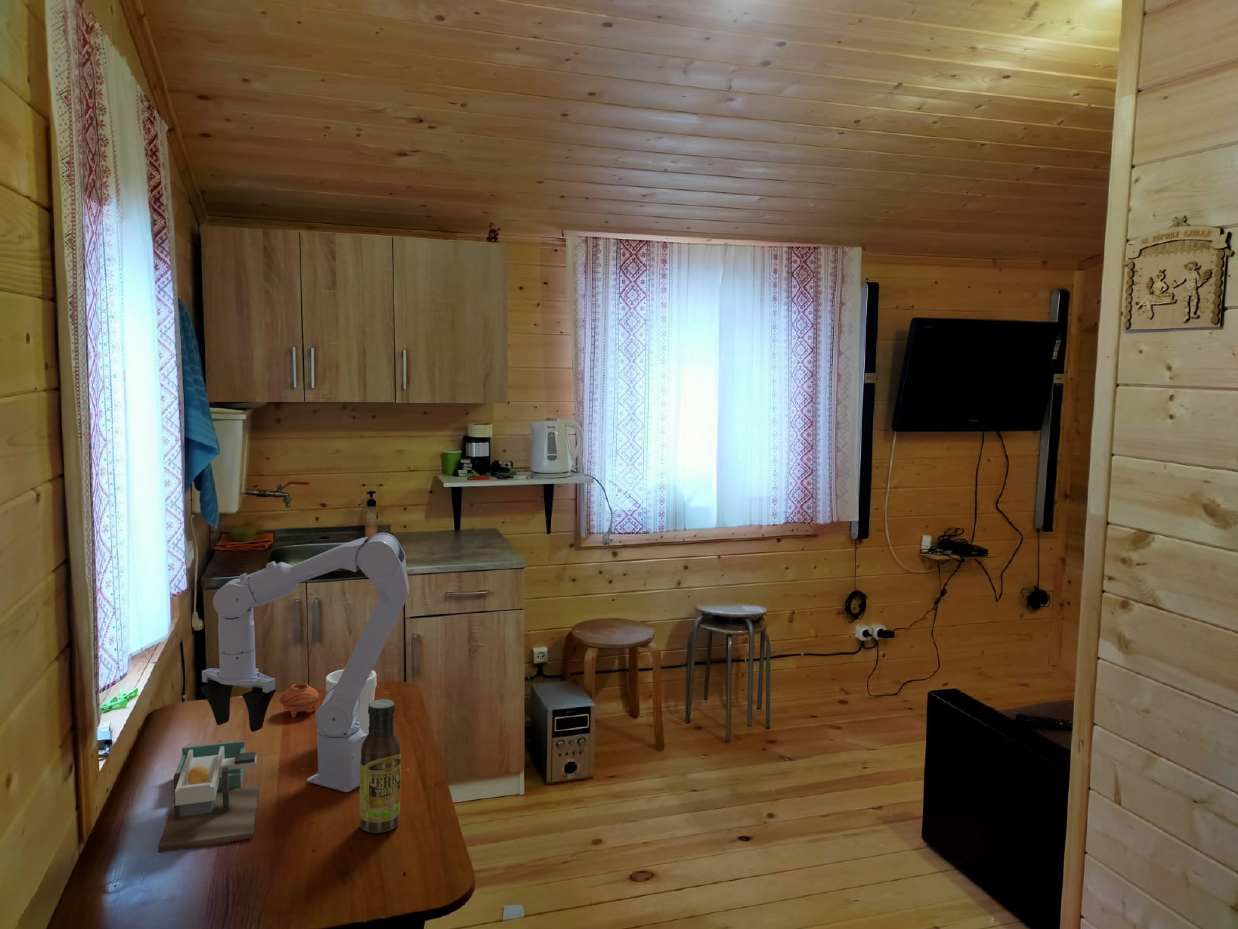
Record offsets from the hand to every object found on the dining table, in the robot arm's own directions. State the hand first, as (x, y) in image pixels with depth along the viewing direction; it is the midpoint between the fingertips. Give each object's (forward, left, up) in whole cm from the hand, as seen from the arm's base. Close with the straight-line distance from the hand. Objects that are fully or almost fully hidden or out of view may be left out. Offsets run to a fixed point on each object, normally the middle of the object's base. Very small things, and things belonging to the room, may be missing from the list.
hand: (239, 726), depth 154 cm
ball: (-7, +14, -2) cm, 16 cm away
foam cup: (-4, -23, -11) cm, 26 cm away
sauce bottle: (-32, +1, -11) cm, 33 cm away
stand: (-6, +11, -10) cm, 17 cm away
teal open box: (+5, +2, -10) cm, 12 cm away
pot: (+16, -29, -11) cm, 35 cm away
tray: (-7, +10, -6) cm, 13 cm away
